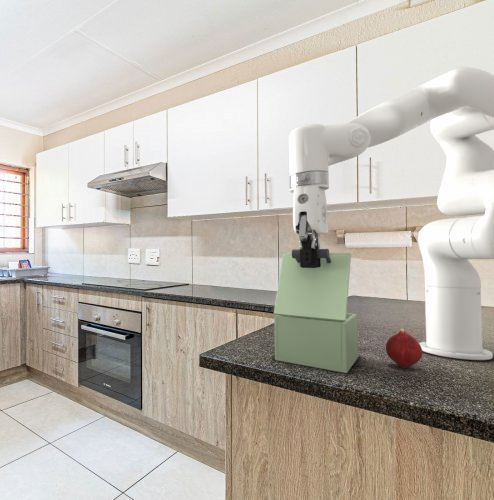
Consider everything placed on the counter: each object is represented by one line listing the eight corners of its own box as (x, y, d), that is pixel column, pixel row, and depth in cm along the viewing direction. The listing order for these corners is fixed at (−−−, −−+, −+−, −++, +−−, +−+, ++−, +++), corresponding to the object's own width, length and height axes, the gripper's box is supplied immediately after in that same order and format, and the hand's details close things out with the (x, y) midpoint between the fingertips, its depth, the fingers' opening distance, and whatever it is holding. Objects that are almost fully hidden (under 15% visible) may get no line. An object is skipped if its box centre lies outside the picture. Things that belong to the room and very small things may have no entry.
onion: (429, 373, 68) (428, 332, 68) (396, 371, 69) (395, 331, 69) (411, 364, 73) (410, 326, 74) (380, 363, 75) (379, 325, 75)
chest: (294, 347, 88) (293, 308, 88) (358, 356, 79) (357, 313, 79) (274, 360, 77) (274, 316, 78) (346, 373, 68) (345, 323, 68)
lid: (284, 255, 84) (277, 243, 80) (351, 254, 75) (346, 241, 71) (274, 314, 78) (267, 305, 74) (346, 322, 69) (341, 311, 65)
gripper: (319, 174, 67) (321, 269, 67) (336, 186, 79) (338, 266, 79) (278, 180, 72) (280, 268, 72) (300, 190, 84) (301, 266, 84)
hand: (310, 266), depth 75 cm, fingers closed on lid, 2 cm apart
